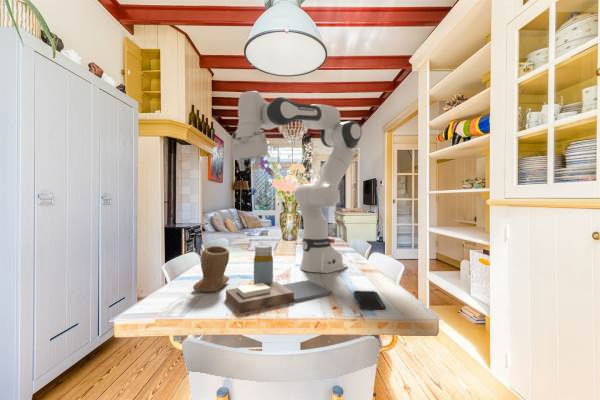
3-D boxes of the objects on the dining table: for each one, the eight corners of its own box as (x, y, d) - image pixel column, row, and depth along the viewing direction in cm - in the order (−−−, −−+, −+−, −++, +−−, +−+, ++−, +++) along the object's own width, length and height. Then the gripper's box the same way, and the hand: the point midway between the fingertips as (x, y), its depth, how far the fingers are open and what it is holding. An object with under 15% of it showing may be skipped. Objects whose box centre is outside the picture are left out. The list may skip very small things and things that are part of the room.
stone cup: (221, 295, 99) (221, 251, 99) (188, 293, 101) (188, 250, 101) (237, 281, 114) (237, 243, 114) (208, 280, 116) (208, 242, 116)
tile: (262, 287, 99) (262, 282, 99) (270, 292, 94) (270, 287, 94) (236, 291, 94) (236, 287, 94) (243, 297, 89) (243, 292, 89)
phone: (376, 291, 102) (386, 308, 87) (376, 294, 102) (386, 312, 87) (353, 290, 102) (359, 307, 88) (353, 293, 102) (359, 311, 88)
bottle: (250, 286, 109) (250, 246, 109) (264, 282, 114) (264, 243, 114) (262, 290, 104) (262, 248, 104) (276, 286, 109) (276, 246, 109)
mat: (308, 282, 114) (308, 280, 114) (332, 294, 101) (332, 291, 101) (274, 289, 106) (274, 286, 106) (295, 302, 93) (295, 299, 93)
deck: (275, 289, 105) (275, 281, 105) (293, 301, 94) (293, 292, 94) (225, 299, 96) (225, 290, 96) (239, 313, 85) (239, 302, 85)
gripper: (272, 131, 107) (271, 169, 108) (242, 138, 123) (242, 171, 123) (257, 128, 103) (257, 167, 103) (229, 136, 118) (228, 170, 119)
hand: (248, 169), depth 113 cm, fingers open, 8 cm apart
